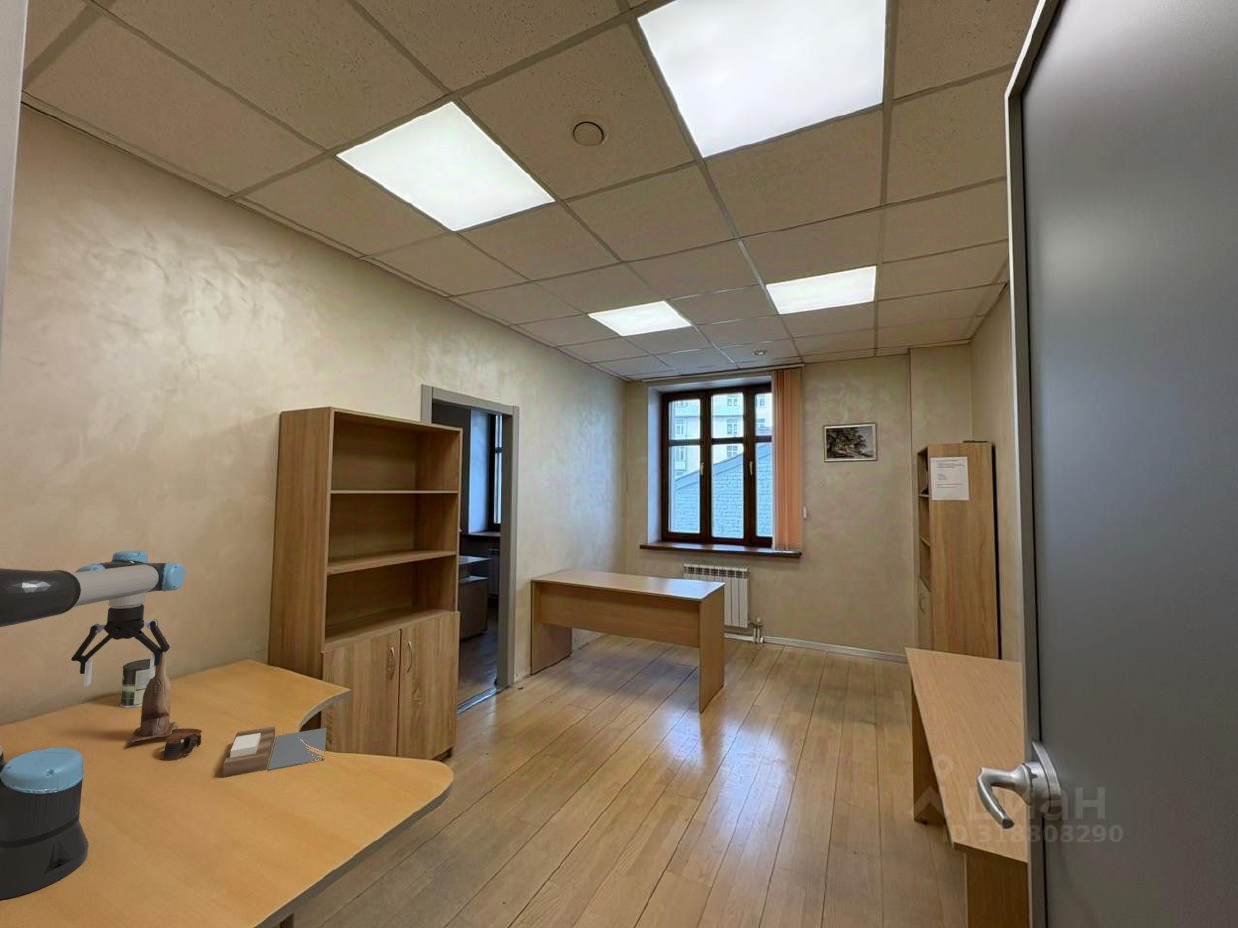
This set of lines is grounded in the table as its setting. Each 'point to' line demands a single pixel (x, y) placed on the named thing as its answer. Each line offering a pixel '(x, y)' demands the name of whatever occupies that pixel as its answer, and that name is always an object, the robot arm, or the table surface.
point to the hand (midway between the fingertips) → (120, 681)
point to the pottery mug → (175, 745)
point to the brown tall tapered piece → (156, 706)
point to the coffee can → (134, 683)
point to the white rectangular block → (245, 745)
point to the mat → (297, 748)
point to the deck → (253, 760)
